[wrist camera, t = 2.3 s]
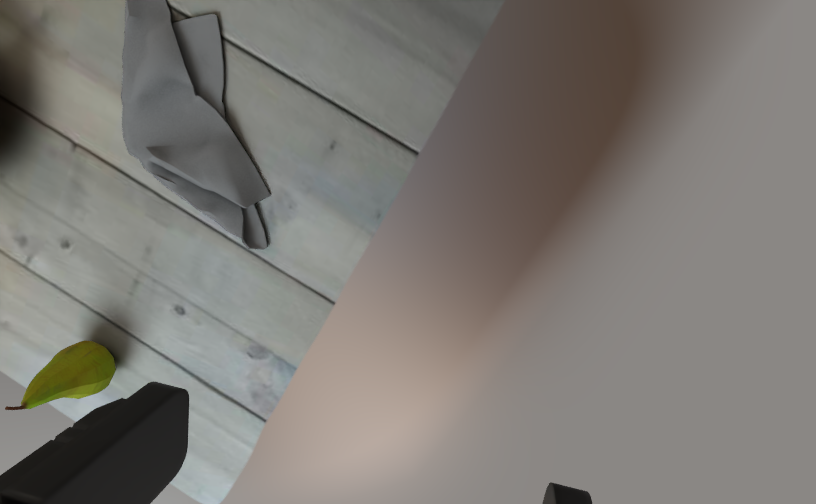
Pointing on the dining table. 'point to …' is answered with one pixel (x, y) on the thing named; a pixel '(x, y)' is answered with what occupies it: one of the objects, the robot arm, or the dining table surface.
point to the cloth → (187, 117)
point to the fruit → (71, 375)
